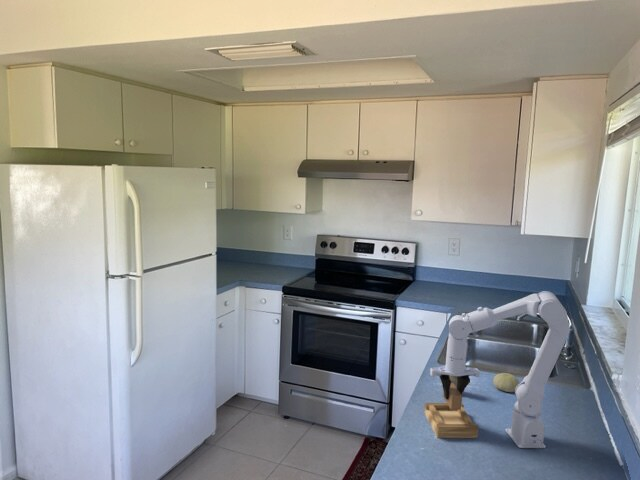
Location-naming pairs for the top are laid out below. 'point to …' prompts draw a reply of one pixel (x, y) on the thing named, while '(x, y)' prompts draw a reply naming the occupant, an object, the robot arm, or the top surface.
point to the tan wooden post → (454, 398)
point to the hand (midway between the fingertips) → (452, 397)
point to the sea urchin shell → (505, 382)
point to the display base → (450, 421)
